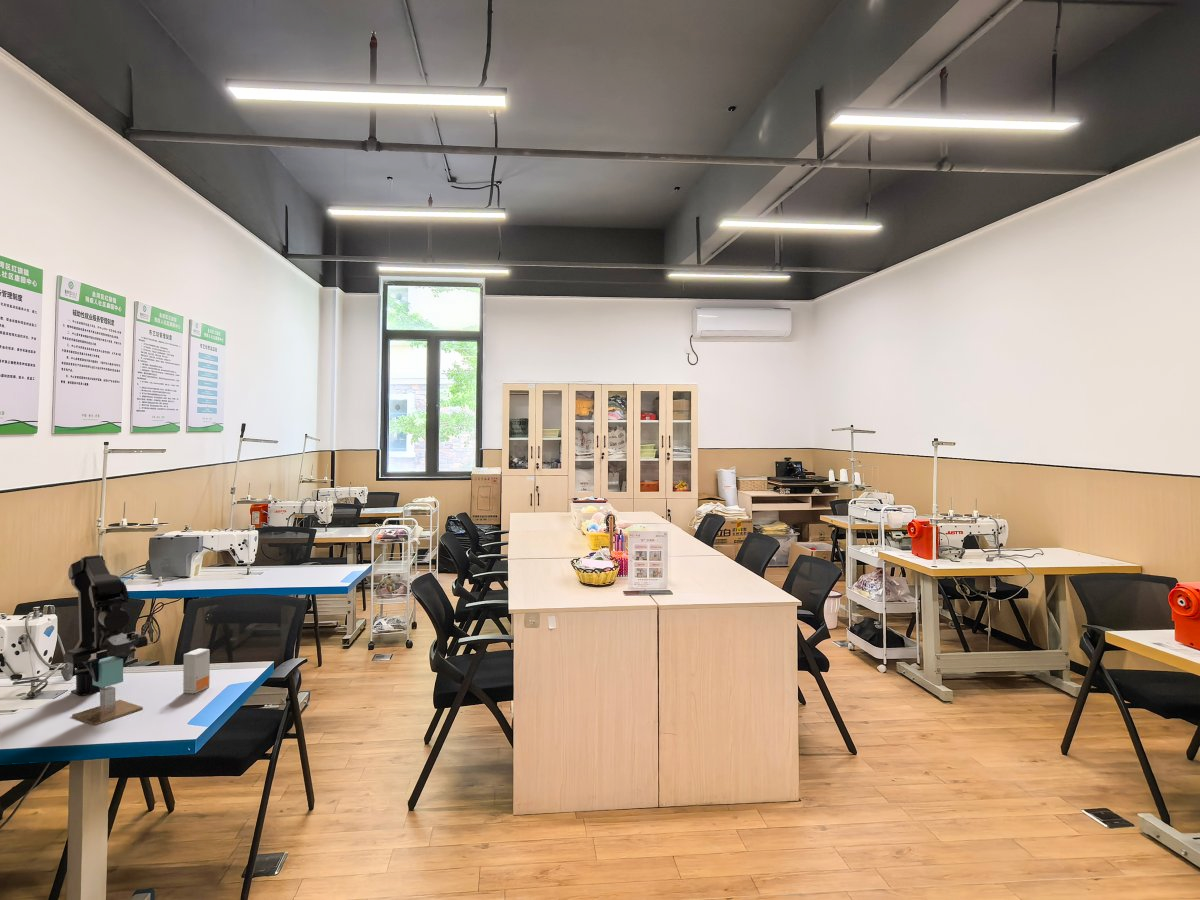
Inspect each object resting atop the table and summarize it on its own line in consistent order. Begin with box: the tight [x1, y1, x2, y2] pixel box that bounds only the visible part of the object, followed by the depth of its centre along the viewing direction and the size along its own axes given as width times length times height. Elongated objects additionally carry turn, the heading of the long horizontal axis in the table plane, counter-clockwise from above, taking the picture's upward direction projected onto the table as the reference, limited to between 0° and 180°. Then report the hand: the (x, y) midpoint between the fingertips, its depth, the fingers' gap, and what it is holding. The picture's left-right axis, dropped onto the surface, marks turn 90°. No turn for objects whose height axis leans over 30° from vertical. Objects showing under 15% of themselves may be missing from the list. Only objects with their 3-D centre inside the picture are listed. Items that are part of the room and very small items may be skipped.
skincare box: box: [182, 647, 211, 694], centre depth 201 cm, size 6×4×12 cm
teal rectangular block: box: [92, 655, 124, 688], centre depth 184 cm, size 5×5×7 cm
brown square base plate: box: [71, 685, 144, 726], centre depth 184 cm, size 12×12×7 cm
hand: (107, 678), depth 184 cm, fingers closed on teal rectangular block, 5 cm apart
